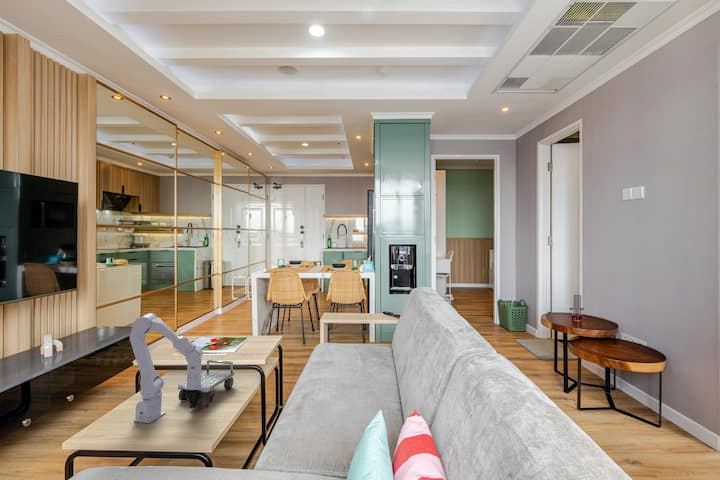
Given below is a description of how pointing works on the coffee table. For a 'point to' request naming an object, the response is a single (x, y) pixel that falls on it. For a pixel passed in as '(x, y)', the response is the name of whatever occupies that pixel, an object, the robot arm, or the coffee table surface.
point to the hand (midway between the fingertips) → (193, 406)
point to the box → (203, 400)
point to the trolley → (213, 379)
